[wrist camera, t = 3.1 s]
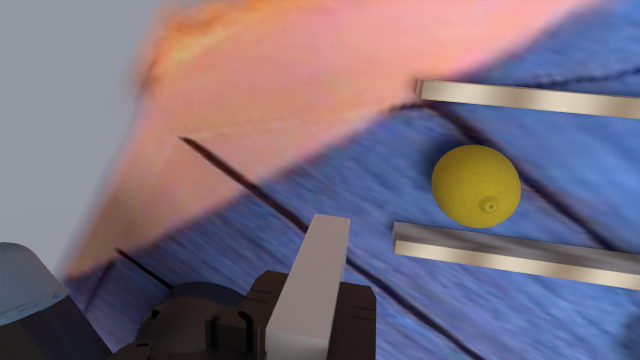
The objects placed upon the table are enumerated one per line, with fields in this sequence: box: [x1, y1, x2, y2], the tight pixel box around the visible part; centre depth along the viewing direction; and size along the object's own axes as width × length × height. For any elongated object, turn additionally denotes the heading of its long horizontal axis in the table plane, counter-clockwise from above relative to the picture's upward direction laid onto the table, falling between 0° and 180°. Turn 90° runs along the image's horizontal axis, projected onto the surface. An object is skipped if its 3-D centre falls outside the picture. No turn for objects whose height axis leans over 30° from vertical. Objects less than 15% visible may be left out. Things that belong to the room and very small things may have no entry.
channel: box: [392, 78, 640, 290], centre depth 25 cm, size 25×13×4 cm, turn 85°
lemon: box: [431, 145, 521, 228], centre depth 24 cm, size 6×6×8 cm
